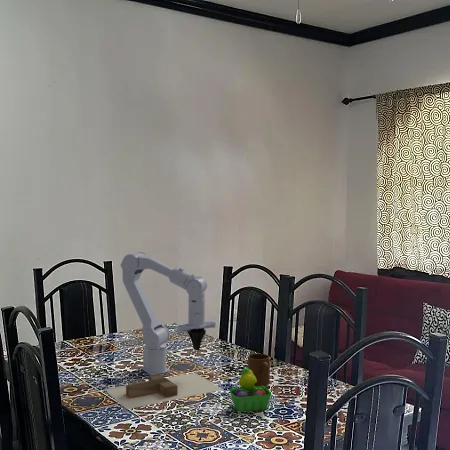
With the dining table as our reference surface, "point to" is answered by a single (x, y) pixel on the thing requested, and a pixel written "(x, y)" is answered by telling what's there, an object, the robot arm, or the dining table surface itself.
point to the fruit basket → (249, 393)
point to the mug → (260, 368)
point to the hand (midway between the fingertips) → (196, 349)
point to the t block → (152, 387)
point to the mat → (186, 388)
